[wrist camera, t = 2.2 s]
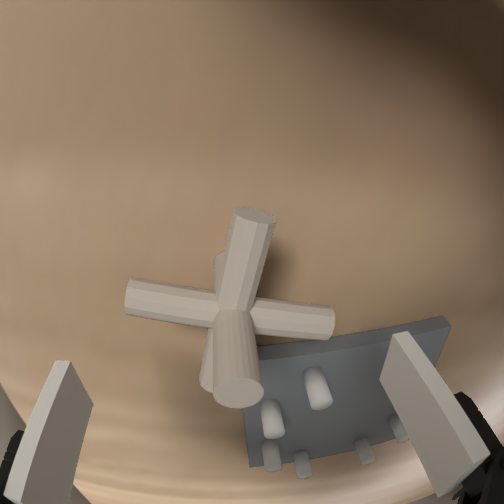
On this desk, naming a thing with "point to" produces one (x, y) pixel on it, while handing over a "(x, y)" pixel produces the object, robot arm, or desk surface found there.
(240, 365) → the pipe connector
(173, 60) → the desk surface
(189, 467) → the desk surface
